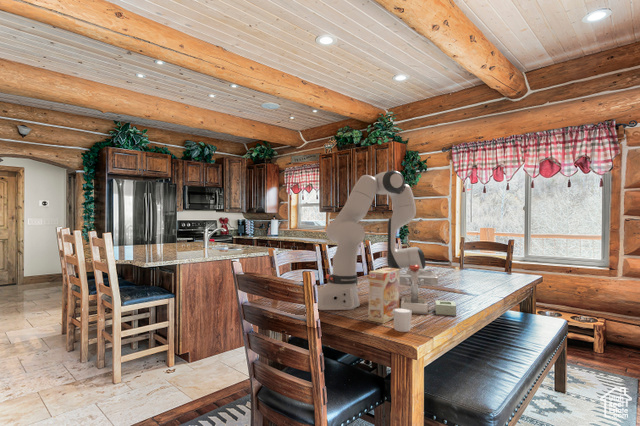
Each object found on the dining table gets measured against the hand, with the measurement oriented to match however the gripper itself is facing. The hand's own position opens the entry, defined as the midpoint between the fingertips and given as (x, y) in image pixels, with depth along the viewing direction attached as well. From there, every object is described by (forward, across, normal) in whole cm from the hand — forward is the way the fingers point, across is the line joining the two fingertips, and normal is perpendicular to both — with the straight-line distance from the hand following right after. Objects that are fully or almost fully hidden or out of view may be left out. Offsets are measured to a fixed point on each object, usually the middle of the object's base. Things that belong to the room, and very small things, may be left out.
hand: (414, 282), depth 156 cm
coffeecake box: (+15, -12, +12) cm, 23 cm away
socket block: (-1, +13, +12) cm, 18 cm away
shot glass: (+28, -4, +12) cm, 31 cm away
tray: (-1, 0, +12) cm, 12 cm away
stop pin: (-1, 0, +9) cm, 9 cm away
